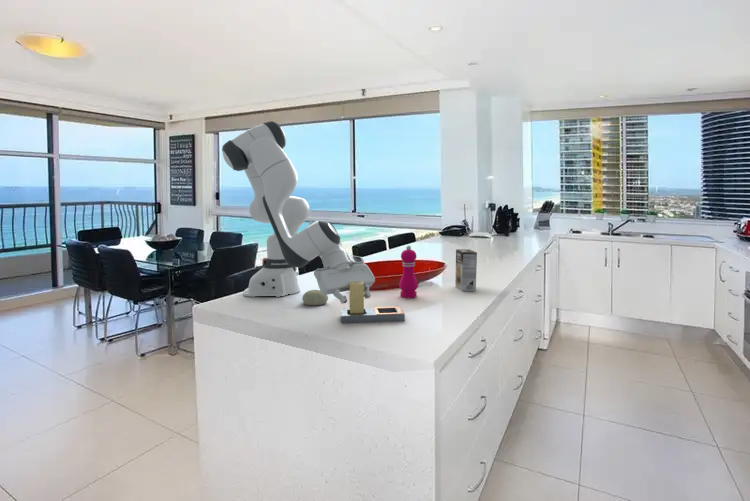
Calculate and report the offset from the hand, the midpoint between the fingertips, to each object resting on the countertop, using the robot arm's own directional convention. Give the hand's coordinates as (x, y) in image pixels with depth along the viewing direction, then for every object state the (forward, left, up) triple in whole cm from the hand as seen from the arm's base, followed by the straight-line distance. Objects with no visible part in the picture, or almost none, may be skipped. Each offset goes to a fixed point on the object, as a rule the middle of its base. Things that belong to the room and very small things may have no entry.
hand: (356, 299), depth 139 cm
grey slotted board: (+5, +1, -7) cm, 8 cm away
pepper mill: (+22, +29, -7) cm, 37 cm away
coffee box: (+48, +39, -7) cm, 62 cm away
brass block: (0, +1, -7) cm, 7 cm away
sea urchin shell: (-14, +23, -7) cm, 28 cm away
